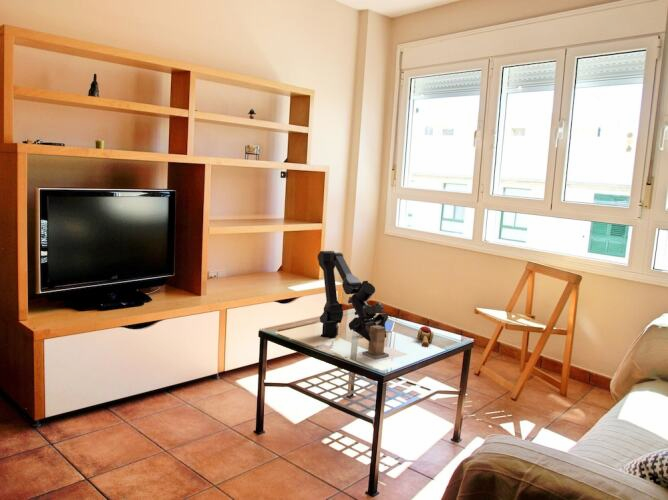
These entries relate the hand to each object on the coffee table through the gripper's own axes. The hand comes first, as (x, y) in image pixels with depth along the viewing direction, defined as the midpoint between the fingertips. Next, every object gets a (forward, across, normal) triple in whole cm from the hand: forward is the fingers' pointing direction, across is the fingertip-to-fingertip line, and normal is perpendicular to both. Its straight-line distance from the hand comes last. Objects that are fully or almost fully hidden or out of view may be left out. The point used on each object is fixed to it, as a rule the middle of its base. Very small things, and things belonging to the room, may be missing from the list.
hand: (377, 339), depth 234 cm
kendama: (+3, +37, +9) cm, 38 cm away
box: (-12, +25, +24) cm, 37 cm away
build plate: (+5, +4, +6) cm, 9 cm away
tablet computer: (-18, +38, +30) cm, 52 cm away
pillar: (+5, 0, +5) cm, 7 cm away
